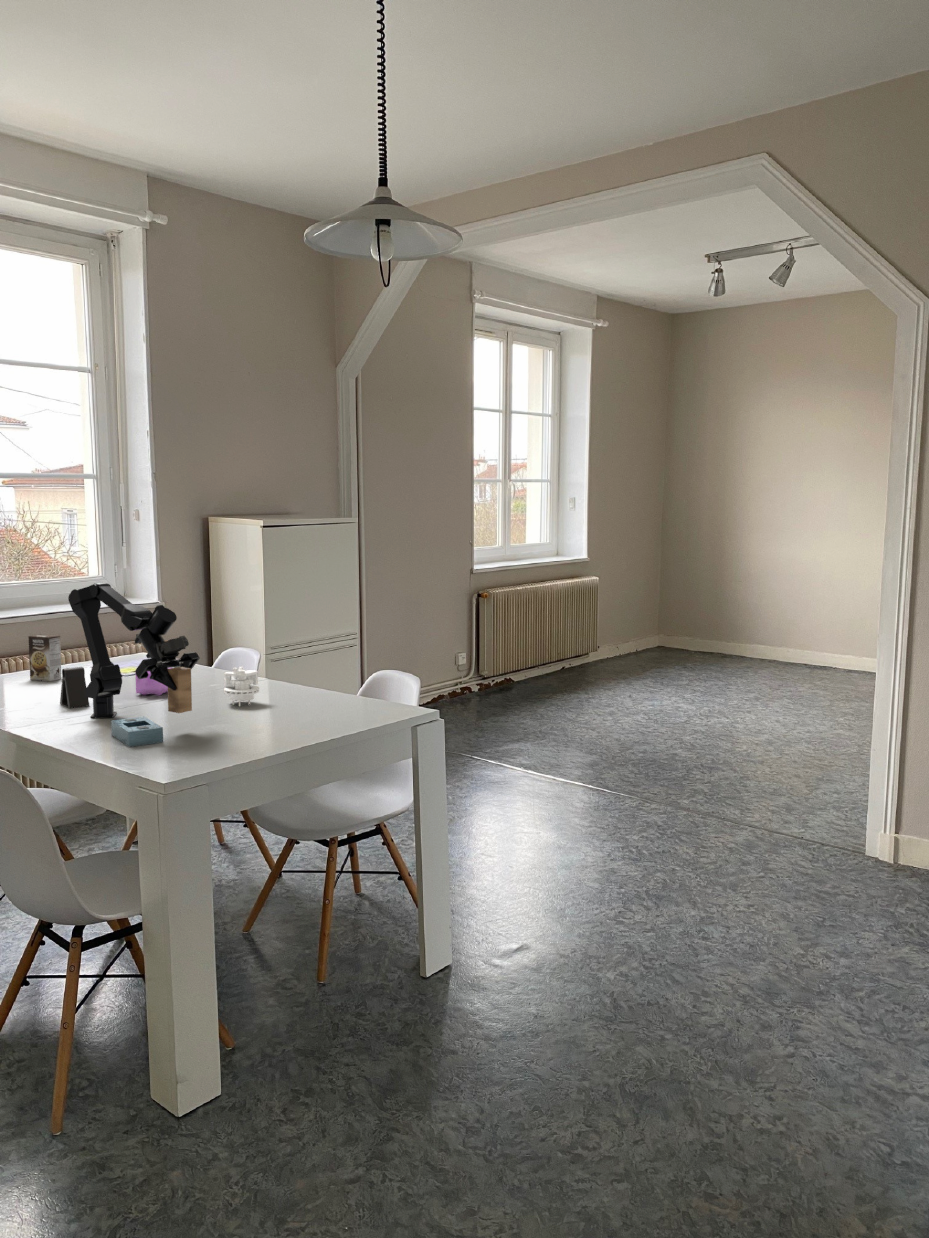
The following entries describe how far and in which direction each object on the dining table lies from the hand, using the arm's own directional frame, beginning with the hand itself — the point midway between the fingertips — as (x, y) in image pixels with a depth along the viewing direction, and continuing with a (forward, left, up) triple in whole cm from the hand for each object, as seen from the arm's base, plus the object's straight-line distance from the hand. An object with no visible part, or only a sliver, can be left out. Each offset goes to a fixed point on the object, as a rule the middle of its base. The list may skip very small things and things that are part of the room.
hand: (182, 688), depth 258 cm
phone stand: (-42, -38, -13) cm, 58 cm away
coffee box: (-91, -58, -13) cm, 109 cm away
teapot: (-59, -15, -13) cm, 62 cm away
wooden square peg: (-1, -1, -7) cm, 7 cm away
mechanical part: (-36, +14, -13) cm, 41 cm away
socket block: (+6, -12, -12) cm, 18 cm away
